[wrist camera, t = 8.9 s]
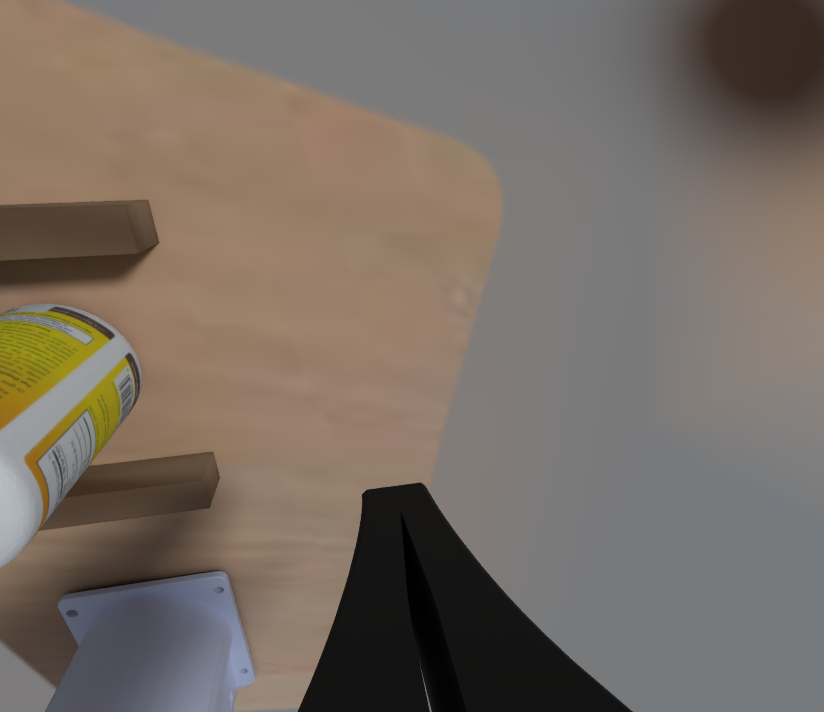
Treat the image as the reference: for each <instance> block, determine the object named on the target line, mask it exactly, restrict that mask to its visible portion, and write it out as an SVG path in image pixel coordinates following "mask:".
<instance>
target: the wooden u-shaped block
mask: <svg viewBox="0 0 824 712" xmlns="http://www.w3.org/2000/svg"><path fill="white" fill-rule="evenodd" d="M158 243H159V240H158V236H157V233H156V229H155V225H154V221H153V217H152V213H151V209H150V206H149V202H148V200H134V201H106V202H77V203H49V204H20V205H0V261H3V260H22V259H42V258H61V257H81V256H100V255H120V254H138V253H140V252H142V251H144V250H146V249H148V248H150V247H152V246H154V245H156V244H158ZM219 479H220V476H219V472H218V469H217V465H216V461H215V457H214V453H213V452H209V453H200V454H191V455H183V456H174V457H165V458H157V459H148V460H139V461H131V462H122V463H113V464H105V465H96V466H88V467H87V469H86V470H85V471H84V472H83V474H82V475H81V476H80V477H79V479H78V480H77V481H76V483H75V484H74V485H73V487H72V488H71V489H70V490H69V492H68V493H67V494H66V496H65V497H64V498H63V500H62V501H61V502H60V504H59V505H58V506H57V507H56V509H55V510H54V511H53V513H52V514H51V515H50V516H49V518H48V519H47V520H46V522H45V523H44V524H43V526H42V527H41V528H40V530H48V529H55V528H63V527H70V526H78V525H85V524H93V523H100V522H108V521H115V520H123V519H130V518H138V517H146V516H153V515H161V514H168V513H176V512H183V511H191V510H198V509H206V508H210V505H211V502H212V499H213V496H214V493H215V490H216V488H217V485H218V482H219ZM40 530H39V531H40Z"/></svg>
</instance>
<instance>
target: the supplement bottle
mask: <svg viewBox="0 0 824 712" xmlns="http://www.w3.org/2000/svg"><path fill="white" fill-rule="evenodd" d="M141 386H142V373H141V367H140V363H139V360H138V358H137V356H136V354H135V352H134V350H133V348H132V347H131V345H130V344H129V343H128V341H127V340H126V339H125V338H124V337H123V336H122V335H121V334H120V333H119V332H118V331H117V330H116V329H115V328H114V327H112V326H111V325H110V324H108V323H107V322H105V321H104V320H102V319H100V318H98V317H97V316H95V315H93V314H90V313H88V312H86V311H83V310H80V309H77V308H74V307H70V306H66V305H60V304H30V305H25V306H20V307H17V308H13V309H11V310H8V311H6V312H3V313H1V314H0V568H2V567H3V566H5V565H6V564H8V563H9V562H10V561H12V560H13V559H14V558H15V557H16V556H17V555H18V554H19V553H20V552H21V551H22V550H23V549H24V548H25V547H26V546H27V544H28V543H29V542H30V541H31V540H32V539H33V537H34V536H35V535H36V533H37V532H38V531H39V530H40V528H41V527H42V526H43V524H44V523H45V522H46V520H47V519H48V518H49V516H50V515H51V514H52V513H53V511H54V510H55V509H56V507H57V506H58V505H59V504H60V502H61V501H62V500H63V498H64V497H65V496H66V494H67V493H68V492H69V490H70V489H71V488H72V487H73V485H74V484H75V483H76V481H77V480H78V479H79V477H80V476H81V475H82V474H83V472H84V471H85V470H86V469H87V467H88V466H89V465H90V463H91V462H92V461H93V460H94V458H95V457H96V456H97V454H98V453H99V451H100V450H101V449H102V448H103V446H104V445H105V444H106V442H107V441H108V440H109V438H110V437H111V436H112V434H113V433H114V432H115V431H116V429H117V428H118V427H119V425H120V424H121V423H122V421H123V420H124V419H125V418H126V416H127V415H128V414H129V413H130V411H131V410H132V408H133V406H134V405H135V403H136V401H137V399H138V397H139V394H140V391H141Z"/></svg>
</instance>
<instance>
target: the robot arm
mask: <svg viewBox="0 0 824 712" xmlns="http://www.w3.org/2000/svg"><path fill="white" fill-rule="evenodd" d="M57 606H58V609H59V611H60V613H61V614H62V616H63V618H64V620H65V622H66V624H67V626H68V627H69V629H70V631H71V633H72V635H73V637H74V639H75V640H76V642H77V644H78V648H77V650H76V652H75V654H74V656H73V658H72V660H71V662H70V664H69V666H68V668H67V670H66V672H65V674H64V676H63V678H62V680H61V682H60V684H59V686H58V687H57V689H56V691H55V693H54V695H53V697H52V699H51V701H50V703H49V705H48V707H47V709H46V711H45V712H233V710H234V704H235V698H236V692H237V688H238V687H244V686H248V685H251V684H252V683H254V681H255V675H256V673H255V670H254V666H253V663H252V659H251V656H250V652H249V649H248V645H247V641H246V638H245V634H244V631H243V627H242V624H241V620H240V617H239V613H238V610H237V606H236V602H235V599H234V595H233V592H232V588H231V585H230V581H229V578H228V575H227V574H226V573H225V572H222V571H214V572H207V573H201V574H194V575H188V576H181V577H175V578H168V579H162V580H155V581H148V582H142V583H135V584H129V585H122V586H116V587H109V588H103V589H96V590H90V591H83V592H77V593H70V594H66V595H64V596H63V597H62V598H61V599H60V601H59V603H58V605H57ZM420 666H421V667H420ZM421 670H422V672H421ZM422 674H423V678H424V682H425V686H426V690H427V694H428V698H429V702H430V706H431V710H432V712H633V711H631V710H630V709H629V708H628V707H627V706H625V705H624V704H623V703H622V702H621V701H620V700H618V699H617V698H616V697H615V696H614V695H612V694H611V693H610V692H609V691H608V690H607V689H605V688H604V687H603V686H602V685H601V684H600V683H598V682H597V681H596V680H595V679H594V678H593V677H591V676H590V675H589V674H588V673H587V672H585V671H584V670H583V669H582V668H581V667H580V666H579V665H577V664H576V663H575V662H574V661H573V660H572V659H570V657H569V656H568V655H566V654H565V653H564V652H563V651H562V650H561V649H560V648H559V647H558V646H557V645H556V644H555V643H554V642H553V641H552V640H551V639H549V638H548V637H547V636H546V635H545V634H544V633H543V632H542V631H541V630H540V629H539V628H538V627H537V626H536V625H535V624H534V623H533V622H532V621H531V620H530V619H529V618H528V617H527V616H526V615H525V614H524V613H523V612H522V611H521V609H519V607H518V606H517V605H516V604H515V603H514V602H513V601H512V600H511V599H510V598H509V597H508V596H507V595H506V594H505V592H504V591H503V590H502V589H501V588H500V587H499V586H498V584H497V583H496V582H495V581H494V580H493V579H492V577H491V576H490V575H489V574H488V573H487V572H486V570H485V569H484V568H483V567H482V566H481V564H480V563H479V562H478V561H477V560H476V558H475V557H474V556H473V554H472V553H471V552H470V550H469V549H468V548H467V547H466V545H465V544H464V543H463V542H462V540H461V539H460V538H459V536H458V535H457V534H456V532H455V531H454V530H453V528H452V527H451V525H450V524H449V522H448V521H447V520H446V518H445V517H444V515H443V514H442V513H441V511H440V509H439V508H438V506H437V505H436V503H435V501H434V500H433V498H432V496H431V495H430V493H429V491H428V490H427V488H426V486H425V485H423V484H422V483H414V484H406V485H399V486H391V487H384V488H377V489H369V490H366V491H365V492H364V493H363V494H362V514H361V521H360V527H359V533H358V538H357V543H356V547H355V551H354V555H353V559H352V563H351V567H350V571H349V575H348V578H347V582H346V585H345V588H344V591H343V595H342V598H341V601H340V604H339V607H338V610H337V613H336V617H335V620H334V622H333V625H332V628H331V631H330V634H329V636H328V639H327V642H326V644H325V647H324V650H323V652H322V655H321V657H320V660H319V662H318V665H317V668H316V670H315V673H314V675H313V677H312V680H311V682H310V685H309V687H308V689H307V691H306V694H305V696H304V698H303V701H302V703H301V705H300V708H299V710H298V712H430V711H429V706H428V701H427V696H426V691H425V687H424V682H423V678H422Z"/></svg>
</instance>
